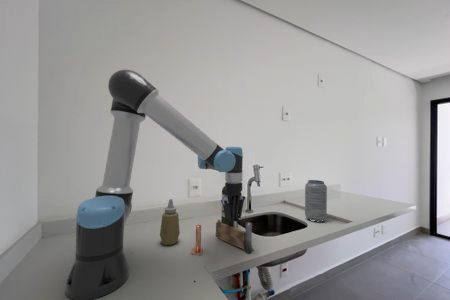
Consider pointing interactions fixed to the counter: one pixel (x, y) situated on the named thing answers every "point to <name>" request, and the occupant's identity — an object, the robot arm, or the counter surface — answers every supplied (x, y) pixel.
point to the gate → (230, 234)
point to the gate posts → (247, 240)
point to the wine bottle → (223, 208)
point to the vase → (316, 200)
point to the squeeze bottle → (170, 225)
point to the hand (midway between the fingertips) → (233, 235)
